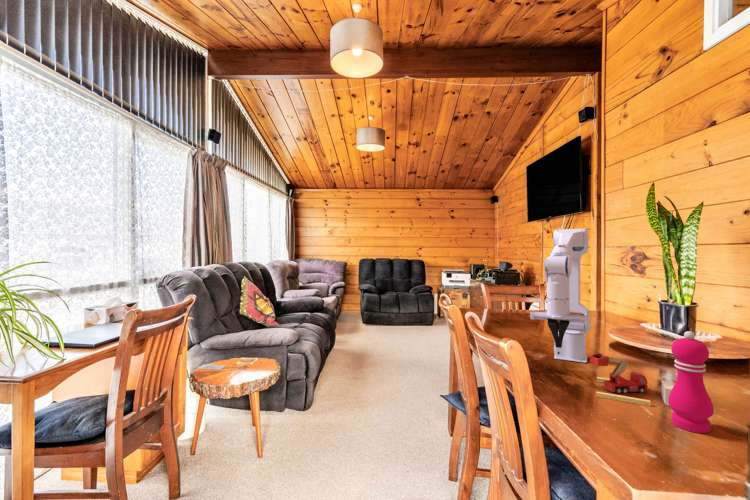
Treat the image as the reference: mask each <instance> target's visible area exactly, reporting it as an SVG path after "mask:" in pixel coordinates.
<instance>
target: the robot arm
mask: <svg viewBox="0 0 750 500" xmlns="http://www.w3.org/2000/svg"><path fill="white" fill-rule="evenodd" d="M552 239H553V245H554V247H553V248H552V251H551V253H550V254H549V256H547V257H545V258H544V261H543V272H544V278H545V279H544V280H545V282H546V311H530V313H529V317H530V318H529V319H530V320H540V321H541V320H543V321H547V322H546V324H547V327H548V328H549V331H550V332H551V334H552V336H553V337H552V338H553V340H554V341H553V342H554V343H553V344H554V346H553V353H554V359H556V360H562V361H570V362H578V363H586V364H587V363H588V355H587V354H586V353H587V351H586V350H587V349H586V347H587V346H586V342H587V341H586V335H587V334H588V333H589V332H591V315H590V309H589V308H588V307H586V306H585V305H583V304H582V302H581V262H582V261H581V260H582V257H583V255H585V254H588V251H589V230H588V229H587V228H586V227H583V228H561V229H558V228H556V229H555V230H554V231H553V238H552ZM586 333H587V334H586Z"/></svg>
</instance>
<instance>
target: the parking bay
mask: <svg viewBox="0 0 750 500" xmlns="http://www.w3.org/2000/svg"><path fill="white" fill-rule="evenodd" d="M604 381H610V378H609V377H607V378H606V377H601V376H597V377H596V382H597V383H603V384H604ZM674 385H675V384H673V381H669V380H668V381H667V380H662V379H661V398H662V400H663V403H664V404H665V406H669V403H668V399H669V394H670V392H671V390H672V388H673V387H674ZM595 394H596V396H595V397H596V398H597V397H598V398H602V399H608V400H614V401H620V402H624V403H630V404H636V405H640V406H642V405H643V406H646V407H647V406H648V407H651V406H652V403H651V400H650V399H643V398H637V397H631V396H625V395H619V394H616V393H615V394H614V393H607V392H603V391H596V393H595ZM669 407H670V406H669Z"/></svg>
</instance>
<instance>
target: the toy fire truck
mask: <svg viewBox="0 0 750 500" xmlns="http://www.w3.org/2000/svg"><path fill="white" fill-rule="evenodd" d="M609 362H611V363H615V364H616V366H615V367H614V369H613V370H612V372H610V373H609V379H610V381H604V383H603V385H604V387H603V388H604V389H606V390H607V391H609V392H611V393H617V394H622V393H623V394H627V393H628V392H630V393H631V392H632V393H634V392H638V393H641V394H642V393H645V392H648V388H649V387H648V380H647V378H646V376H645V375H644V374H642V373H639V372H636V371H632V372H630V375H629V377H630V379H627V378H624V377H623V376H621V375H622V374H623V373H624V372H625V371H626V370H627V368H628V367H630V363H629V362H628V361H627V360H626V359H623V358H617V357H613V356H609V355H605V354H603V353H601V352H600V353H596V354H591V355H590V356H589V363H592V364H594V365H595V366H597V367H598V366H599V367H608V366H609Z"/></svg>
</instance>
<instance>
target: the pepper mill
mask: <svg viewBox="0 0 750 500" xmlns="http://www.w3.org/2000/svg"><path fill="white" fill-rule="evenodd" d="M683 336H684V337H682V338H678V339H676V340H674V341H673V342H672V345H671V348H670V349H671V350H670V351H671V354H672V355H673V356H674V357H675V359H674V367H675V368H676V373H677V376H676V380H675V382H674V384H673V385H674V387H673V388H672V390H671V392H670V394H669V399H668V403H669V407H670V409H671V410H672V411H673V412H671V416H670V417H671V424H673V425H674V426H675V427H677V428H679V429H681V430H683V431H684V430H685V431H687V432H691V433H697V434H707V433H710V432H711V430H712V428H711V427H712V425H711V421H710V418H711V417H712V416H713V415H714V413H715V411H714V405H713V401H712V399H711V397H710V395H709V393H708V390H707V389H706V386H705V384H704V373H705V372H706V371H707V369H706V367H707V364H706V363H705V362H706V361H708V359H709V357H710V351H709V348H708V346H707V345H706V344H705V343H704V342H702V341H701V340H699V339H695V338H696V335H695V333H694V332H693V331H690V330H687V331H684V333H683Z"/></svg>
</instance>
